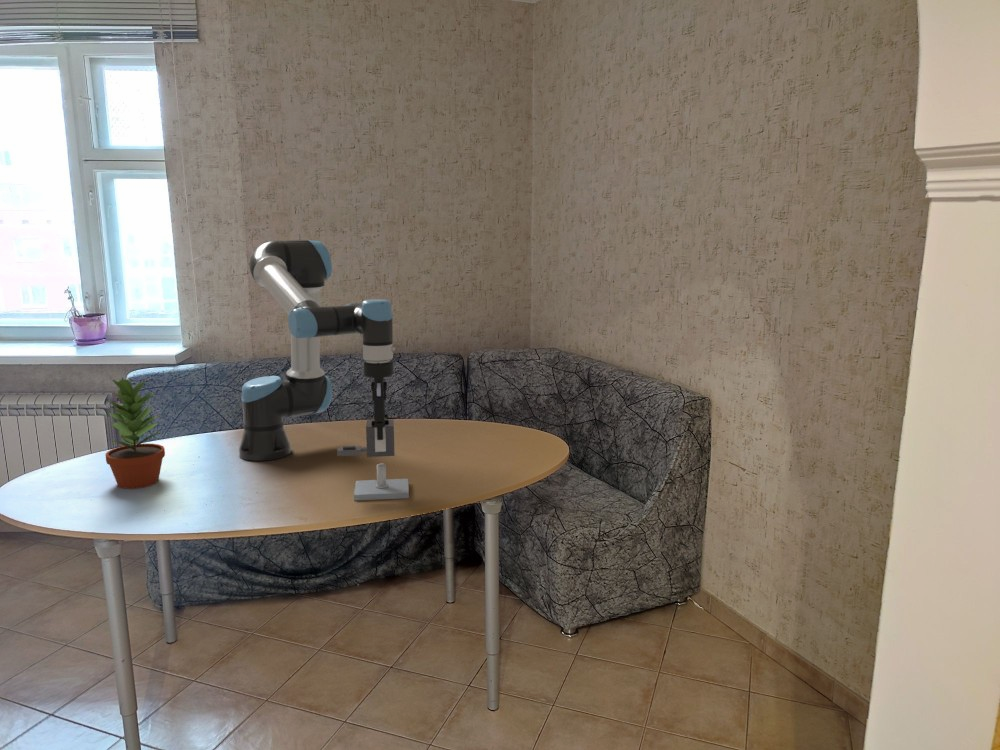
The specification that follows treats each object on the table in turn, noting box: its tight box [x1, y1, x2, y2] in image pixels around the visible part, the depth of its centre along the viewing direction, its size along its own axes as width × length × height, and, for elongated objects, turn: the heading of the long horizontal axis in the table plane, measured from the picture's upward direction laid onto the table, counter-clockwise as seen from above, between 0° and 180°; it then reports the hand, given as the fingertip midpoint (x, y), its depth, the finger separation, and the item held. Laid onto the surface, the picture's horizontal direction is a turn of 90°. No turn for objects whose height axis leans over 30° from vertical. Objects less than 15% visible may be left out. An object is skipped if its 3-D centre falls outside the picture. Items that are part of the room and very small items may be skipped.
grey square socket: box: [336, 418, 396, 458], centre depth 197 cm, size 15×7×8 cm, turn 98°
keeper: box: [353, 462, 410, 501], centre depth 200 cm, size 14×11×8 cm
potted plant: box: [105, 376, 166, 490], centre depth 204 cm, size 15×15×30 cm
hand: (380, 446), depth 198 cm, fingers closed on grey square socket, 7 cm apart
